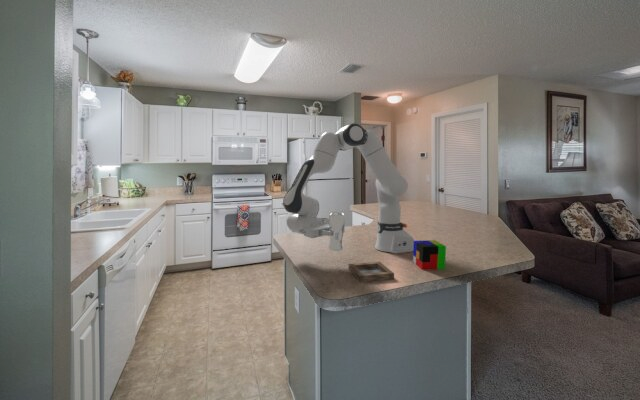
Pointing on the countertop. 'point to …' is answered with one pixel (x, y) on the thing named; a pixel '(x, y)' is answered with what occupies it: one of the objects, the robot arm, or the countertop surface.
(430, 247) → the puzzle toy
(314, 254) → the countertop surface
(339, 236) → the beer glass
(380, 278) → the cradle jig
